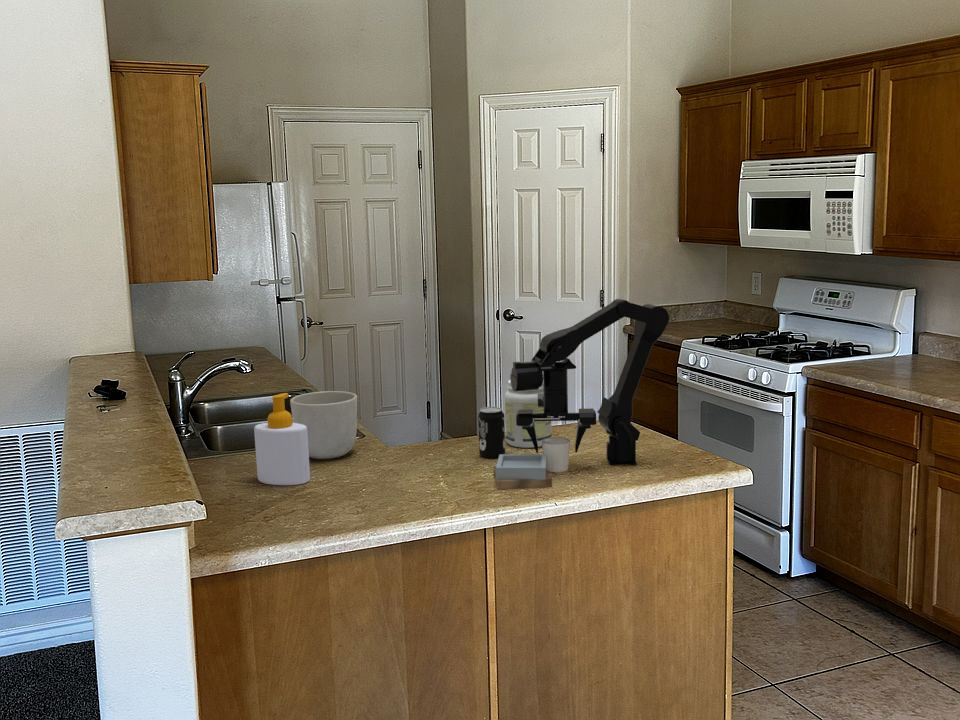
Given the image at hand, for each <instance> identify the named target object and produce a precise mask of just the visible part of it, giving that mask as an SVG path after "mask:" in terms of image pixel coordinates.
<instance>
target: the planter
mask: <svg viewBox="0 0 960 720" xmlns="http://www.w3.org/2000/svg"><path fill="white" fill-rule="evenodd" d="M289 401H290V409H291V416H292V423H298V424H303V425H305V426H306V427H307V436H308V451H309V459H310V458H311V459H316V460H331V459H336V458H341V457H343V456H345V455H346V454H348V453H349V452H350V451H351V450H352V449H353V448H354V445H355V442H356V439H357V433H358V432H357V424H358V395H357V394H356V393H355V392H349V391H341V390H337V391H336V390H327V391H326V390H325V391H324V390H323V391H315V392H308V393H302V394H299V395H296V396H295V395H294V397H291V398H290V400H289Z"/></svg>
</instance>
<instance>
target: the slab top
mask: <svg viewBox="0 0 960 720" xmlns="http://www.w3.org/2000/svg"><path fill="white" fill-rule="evenodd" d="M495 466H496V479H546V454H543V453H542V454H541V453H539V454H538V453H537V454H535V453H534V454H531V453H530V454H525V453H524V454H519V453H518V454H513V453H512V454H510V453H509V454H508V453H507V454H499V458H497V462H496V465H495Z"/></svg>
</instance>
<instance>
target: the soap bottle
mask: <svg viewBox="0 0 960 720" xmlns="http://www.w3.org/2000/svg"><path fill="white" fill-rule="evenodd" d="M288 397H289V393H288V392H284V393H279V394H276V395H273V396H272V410H273V411H272V412H270V413H269V414H268V416H267V422H264V423H263V422H262V423H259V424H256V425H255V426H254V428H253V430H254V431H253V433H254V434H253V436H254V446H255V447H254V448H255V461H256V462H255V463H256V473H257V474H256V475H257V480H258V481H259V482H260V483H263V484H266V485H273V486H296V485H305V484H306V483H309V481H310V480H311V471H310V469H311V468H310V467H311V466H310V457H309V451H308V436H307V427H306V426H305V425H303V424H298V423H293V417H292V413H291V412H289V411H287V410H286V407H285V399H288Z"/></svg>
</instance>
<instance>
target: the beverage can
mask: <svg viewBox="0 0 960 720" xmlns="http://www.w3.org/2000/svg"><path fill="white" fill-rule="evenodd" d="M477 419H478V453H479V455H480V456H481V457H482V458H483V459H484V458H485V459H498V458H499V454H505V453H506V424H505V412H503V408H502V407H498V406H486V407H482V408H480V409H479V413H478V417H477Z"/></svg>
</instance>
